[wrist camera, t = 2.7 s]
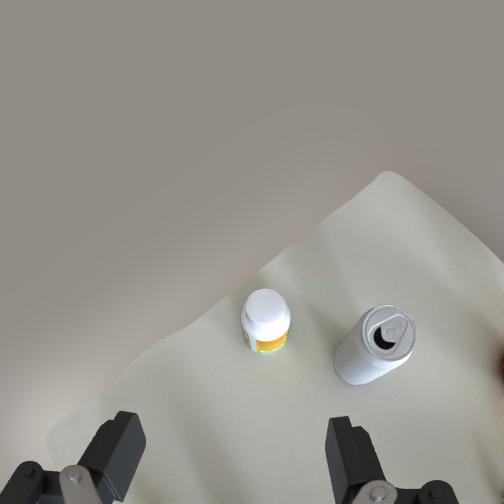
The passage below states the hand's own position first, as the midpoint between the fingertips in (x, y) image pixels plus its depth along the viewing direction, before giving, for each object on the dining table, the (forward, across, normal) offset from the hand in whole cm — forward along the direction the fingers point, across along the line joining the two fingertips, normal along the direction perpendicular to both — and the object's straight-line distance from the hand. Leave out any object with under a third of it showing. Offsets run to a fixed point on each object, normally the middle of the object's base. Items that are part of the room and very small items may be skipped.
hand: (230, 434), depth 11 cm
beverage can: (+23, -13, +12) cm, 29 cm away
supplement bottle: (+26, -2, +9) cm, 28 cm away
